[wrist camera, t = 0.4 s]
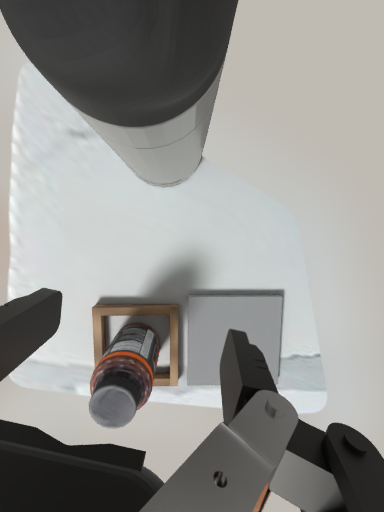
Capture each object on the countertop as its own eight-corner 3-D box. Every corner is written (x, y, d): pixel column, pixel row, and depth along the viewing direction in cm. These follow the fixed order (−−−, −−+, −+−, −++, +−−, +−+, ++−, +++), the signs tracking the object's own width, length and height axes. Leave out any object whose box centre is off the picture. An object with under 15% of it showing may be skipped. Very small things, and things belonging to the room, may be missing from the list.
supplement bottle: (154, 368, 31) (138, 447, 20) (110, 358, 31) (68, 433, 20) (165, 327, 31) (154, 385, 20) (120, 316, 30) (83, 369, 19)
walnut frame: (95, 304, 30) (92, 307, 29) (178, 304, 30) (177, 307, 29) (99, 380, 31) (95, 386, 30) (178, 379, 32) (177, 385, 31)
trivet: (187, 294, 30) (188, 296, 30) (280, 294, 31) (282, 296, 30) (187, 381, 32) (187, 385, 31) (275, 380, 32) (277, 384, 31)
